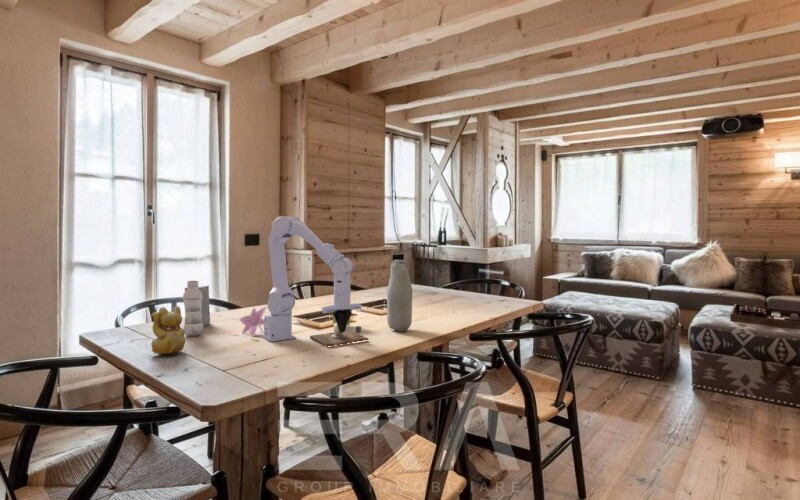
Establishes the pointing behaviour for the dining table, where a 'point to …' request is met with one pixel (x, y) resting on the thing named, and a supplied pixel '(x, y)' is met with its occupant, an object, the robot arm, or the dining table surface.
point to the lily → (253, 321)
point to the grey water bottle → (399, 296)
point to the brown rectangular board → (337, 338)
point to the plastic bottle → (193, 309)
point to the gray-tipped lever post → (348, 328)
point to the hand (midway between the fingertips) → (341, 331)
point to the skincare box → (204, 304)
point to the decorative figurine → (167, 332)
